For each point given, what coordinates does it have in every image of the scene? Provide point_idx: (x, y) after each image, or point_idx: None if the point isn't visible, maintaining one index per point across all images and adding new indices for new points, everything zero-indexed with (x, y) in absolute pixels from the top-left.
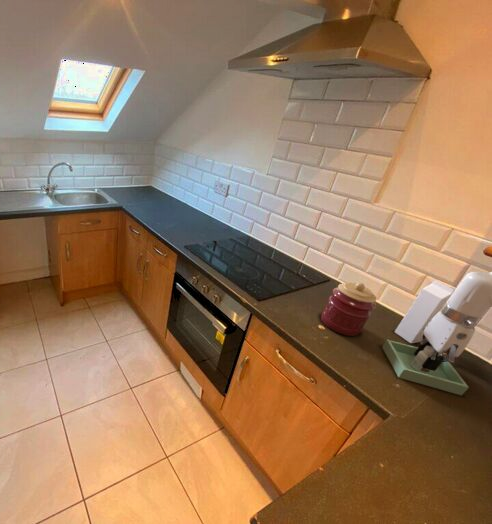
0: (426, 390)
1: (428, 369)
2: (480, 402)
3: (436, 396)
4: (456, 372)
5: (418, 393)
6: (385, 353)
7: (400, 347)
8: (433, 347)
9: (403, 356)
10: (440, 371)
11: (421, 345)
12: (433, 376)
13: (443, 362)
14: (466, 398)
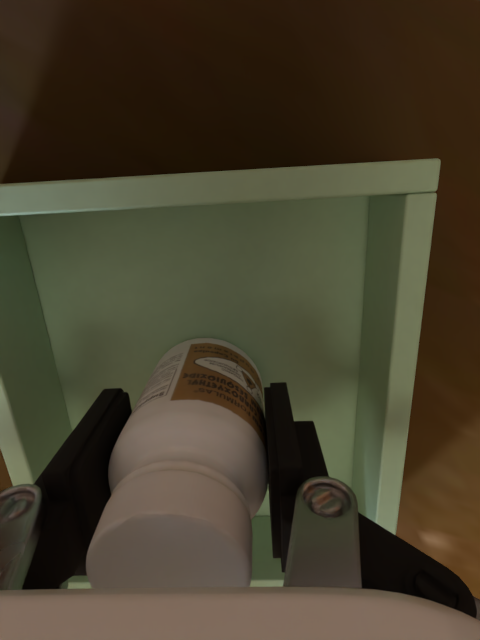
0: (424, 405)
1: (260, 394)
2: (423, 17)
3: (463, 365)
4: (223, 185)
5: (469, 459)
6: None
7: None
8: (100, 558)
9: None
10: (152, 229)
11: (79, 569)
12: (392, 434)
13: (347, 487)
14: (412, 137)
